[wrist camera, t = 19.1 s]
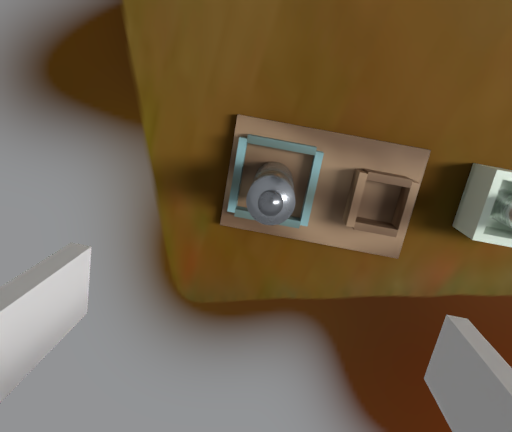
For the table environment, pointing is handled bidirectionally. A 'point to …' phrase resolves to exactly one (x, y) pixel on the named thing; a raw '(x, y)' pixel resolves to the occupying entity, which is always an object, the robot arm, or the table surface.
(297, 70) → the table surface
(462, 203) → the tray
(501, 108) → the table surface
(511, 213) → the pin
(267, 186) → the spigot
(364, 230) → the mount
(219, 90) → the table surface
